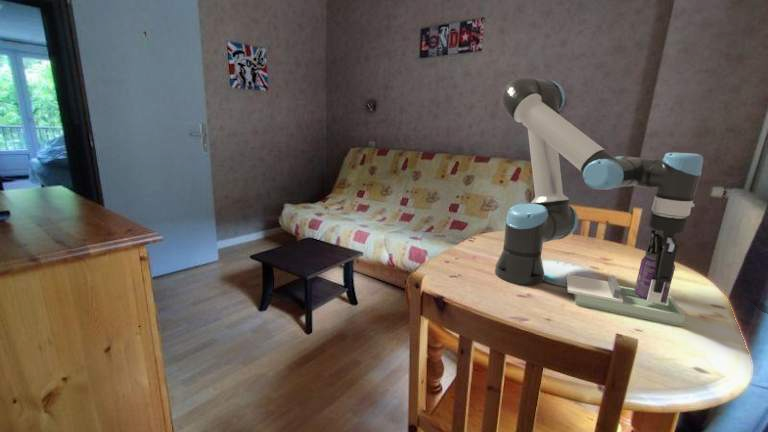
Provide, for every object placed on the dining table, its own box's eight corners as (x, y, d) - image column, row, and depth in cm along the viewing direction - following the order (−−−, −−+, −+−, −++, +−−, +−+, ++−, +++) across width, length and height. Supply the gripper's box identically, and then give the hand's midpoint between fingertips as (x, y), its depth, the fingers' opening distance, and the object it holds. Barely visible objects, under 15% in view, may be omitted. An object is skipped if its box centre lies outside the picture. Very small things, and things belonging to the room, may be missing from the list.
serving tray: (575, 304, 96) (577, 294, 95) (572, 286, 107) (574, 277, 106) (682, 326, 87) (685, 316, 86) (668, 304, 97) (670, 295, 96)
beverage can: (656, 293, 96) (667, 253, 93) (671, 305, 89) (683, 263, 86) (628, 290, 97) (637, 250, 94) (641, 302, 91) (651, 260, 87)
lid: (567, 292, 97) (569, 282, 96) (566, 276, 107) (567, 266, 106) (622, 303, 91) (625, 292, 90) (615, 285, 101) (617, 275, 101)
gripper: (704, 226, 77) (678, 317, 83) (675, 208, 94) (656, 283, 100) (662, 222, 80) (641, 309, 86) (642, 204, 97) (625, 278, 104)
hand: (649, 295), depth 93 cm, fingers closed on beverage can, 7 cm apart
